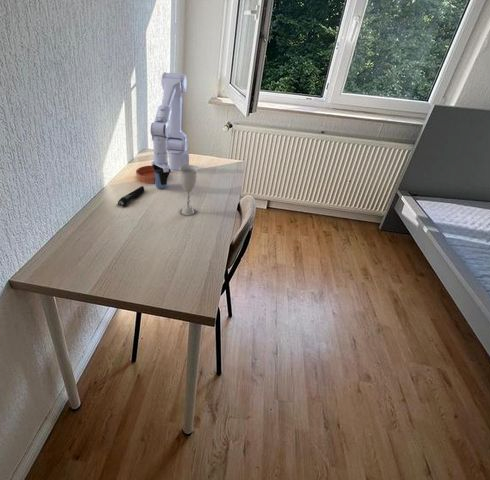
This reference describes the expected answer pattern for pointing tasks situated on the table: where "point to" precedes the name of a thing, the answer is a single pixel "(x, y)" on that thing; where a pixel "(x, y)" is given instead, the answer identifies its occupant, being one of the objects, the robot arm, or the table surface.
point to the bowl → (145, 174)
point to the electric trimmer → (130, 196)
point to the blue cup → (157, 181)
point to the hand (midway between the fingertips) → (161, 181)
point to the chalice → (188, 185)
